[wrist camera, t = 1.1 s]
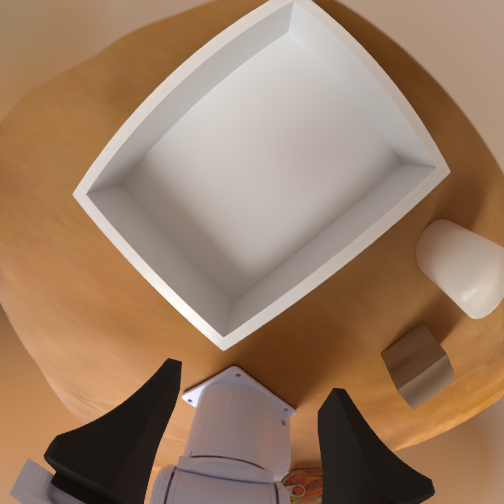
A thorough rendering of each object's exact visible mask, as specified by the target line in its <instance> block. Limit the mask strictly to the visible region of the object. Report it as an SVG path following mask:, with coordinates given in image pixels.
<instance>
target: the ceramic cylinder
mask: <svg viewBox="0 0 504 504" xmlns="http://www.w3.org/2000/svg"><path fill="white" fill-rule="evenodd" d="M416 262H417V265H418V267H419V269H420V270H421V272H422V273H423V274H425V275H426V276H427V277H428V278H429V279H430V280H431V281H432V282H434V283H435V284H436V285H437V286H438V287H439V288H440V289H441V290H442V291H443V292H444V293H446V294H447V295H448V296H449V297H450V298H451V299H452V300H453V301H454V302H455V303H456V304H457V305H458V306H459V307H460V308H461V309H462V310H463V311H464V312H465V313H466V314H467V315H468V316H469V317H471V318H473V319H480V318H483V317H485V316H487V315H488V314H490V313H491V312H492V311H493V310H494V309H495V308H496V307H497V306H498V305H499V303H500V302H501V300H502V299H503V297H504V248H503V247H501V246H499V245H497V244H496V243H494V242H492V241H490V240H488V239H486V238H484V237H482V236H480V235H478V234H476V233H474V232H472V231H470V230H468V229H466V228H464V227H462V226H460V225H458V224H455V223H453V222H451V221H449V220H446V219H440V220H436V221H434V222H432V223H431V224H429V225H428V226H427V227H426V228H425V230H424V231H423V232H422V234H421V236H420V238H419V240H418V243H417V247H416Z"/></svg>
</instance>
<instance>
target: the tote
mask: <svg viewBox="0 0 504 504" xmlns="http://www.w3.org/2000/svg"><path fill="white" fill-rule="evenodd" d="M449 173H450V170H449V168H448V166H447V164H446V162H445V160H444V158H443V156H442V154H441V153H440V151H439V149H438V147H437V146H436V144H435V142H434V140H433V139H432V137H431V135H430V134H429V132H428V131H427V129H426V127H425V126H424V124H423V123H422V121H421V120H420V118H419V117H418V115H417V114H416V112H415V111H414V109H413V108H412V106H411V105H410V104H409V102H408V101H407V99H406V98H405V97H404V95H403V94H402V93H401V91H400V90H399V89H398V87H397V86H396V85H395V84H394V82H393V81H392V80H391V79H390V77H389V76H388V75H387V74H386V72H385V71H384V70H383V69H382V68H381V67H380V65H379V64H378V63H377V62H376V61H375V60H374V59H373V57H372V56H371V55H370V54H369V53H368V52H367V51H366V50H365V49H364V48H363V47H362V46H361V45H360V44H359V43H358V42H357V41H356V40H355V39H354V38H353V37H352V36H351V35H350V34H349V33H348V32H347V31H346V30H345V29H344V28H343V27H342V26H341V25H340V24H339V23H338V22H336V21H335V20H334V19H333V18H332V17H331V16H330V15H328V14H327V13H326V12H325V11H324V10H323V9H321V8H320V7H319V6H318V5H316V4H315V3H314V2H313V1H311V0H270V1H268V2H266V3H265V4H263V5H261V6H260V7H258V8H256V9H255V10H253V11H252V12H250V13H248V14H247V15H245V16H244V17H242V18H241V19H239V20H238V21H236V22H235V23H234V24H232V25H231V26H229V27H228V28H226V29H225V30H224V31H222V32H221V33H220V34H218V35H217V36H216V37H214V38H213V39H212V40H210V41H209V42H208V43H207V44H205V45H204V46H203V47H202V48H200V49H199V50H198V51H197V52H196V53H194V54H193V55H192V56H191V57H190V58H188V59H187V60H186V61H185V62H184V63H183V64H182V65H180V66H179V67H178V68H177V69H176V70H175V71H174V72H173V73H172V74H171V75H170V76H169V77H167V78H166V79H165V80H164V81H163V82H162V83H161V84H160V85H159V86H158V87H157V88H156V89H155V90H154V91H153V92H152V93H151V94H150V95H149V96H148V98H147V99H146V100H145V101H144V102H143V103H142V104H141V105H140V106H139V107H138V108H137V109H136V111H135V112H134V113H133V114H132V115H131V116H130V117H129V118H128V120H127V121H126V122H125V123H124V124H123V125H122V127H121V128H120V129H119V130H118V132H117V133H116V134H115V135H114V136H113V138H112V139H111V140H110V142H109V143H108V144H107V145H106V147H105V148H104V149H103V151H102V152H101V153H100V155H99V156H98V157H97V159H96V160H95V162H94V163H93V164H92V166H91V167H90V169H89V170H88V172H87V173H86V175H85V176H84V178H83V179H82V181H81V182H80V184H79V185H78V187H77V188H76V190H75V191H74V193H73V196H74V197H75V199H76V200H77V201H78V202H79V204H80V205H81V206H82V207H83V209H84V210H85V211H86V212H87V214H88V215H89V216H90V217H91V218H92V220H93V221H94V222H95V223H96V224H97V226H98V227H99V228H100V229H101V230H102V232H103V233H104V234H105V235H106V236H107V237H108V238H109V240H110V241H111V242H112V243H113V244H114V245H115V246H116V247H117V249H118V250H119V251H120V252H121V253H122V254H123V255H124V256H125V257H126V258H127V260H128V261H129V262H130V263H131V264H132V265H133V266H134V267H135V268H136V269H137V270H138V271H139V272H140V273H141V274H142V275H143V277H144V278H145V279H146V280H147V281H148V282H149V283H150V284H151V285H152V286H153V287H154V288H155V289H156V290H157V291H158V292H159V293H160V294H161V295H162V296H163V297H164V298H165V299H166V300H167V301H168V302H169V303H171V304H172V305H173V306H174V307H175V308H176V309H177V310H178V311H179V312H180V313H181V314H182V315H183V316H184V317H185V318H186V319H187V320H189V321H190V322H191V323H192V324H193V325H194V326H195V327H196V328H197V329H198V330H200V331H201V332H202V333H203V334H204V335H205V336H206V337H207V338H209V339H210V340H211V341H212V342H213V343H214V344H216V345H217V346H218V347H219V348H220V349H221V350H223V351H225V350H226V349H228V348H230V347H231V346H233V345H234V344H236V343H237V342H239V341H240V340H242V339H243V338H245V337H246V336H248V335H249V334H251V333H252V332H254V331H255V330H257V329H258V328H260V327H261V326H263V325H264V324H266V323H267V322H268V321H270V320H271V319H273V318H274V317H276V316H277V315H278V314H280V313H281V312H283V311H284V310H286V309H287V308H288V307H290V306H291V305H293V304H294V303H295V302H297V301H298V300H299V299H301V298H302V297H304V296H305V295H306V294H308V293H309V292H310V291H312V290H313V289H314V288H316V287H317V286H318V285H320V284H321V283H322V282H324V281H325V280H326V279H328V278H329V277H330V276H331V275H333V274H334V273H335V272H337V271H338V270H339V269H340V268H342V267H343V266H344V265H346V264H347V263H348V262H349V261H351V260H352V259H353V258H354V257H356V256H357V255H358V254H359V253H361V252H362V251H363V250H364V249H365V248H367V247H368V246H369V245H370V244H372V243H373V242H374V241H375V240H376V239H378V238H379V237H380V236H381V235H382V234H383V233H385V232H386V231H387V230H388V229H389V228H391V227H392V226H393V225H394V224H395V223H396V222H397V221H399V220H400V219H401V218H402V217H403V216H404V215H405V214H407V213H408V212H409V211H410V210H411V209H412V208H413V207H414V206H415V205H417V204H418V203H419V202H420V201H421V200H422V199H423V198H424V197H425V196H426V195H427V194H429V193H430V192H431V191H432V190H433V189H434V188H435V187H436V186H437V185H438V184H439V183H440V182H441V181H442V180H443V179H444V178H445V177H446V176H447V175H448V174H449Z"/></svg>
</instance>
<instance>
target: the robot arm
mask: <svg viewBox="0 0 504 504" xmlns="http://www.w3.org/2000/svg"><path fill="white" fill-rule="evenodd" d="M181 366H182V362H181V361H177V360H174V359H170V358H168V359H167V360H166V361H165V362H164V363H163V365H162V366H161V367H160V368H159V369H158V371H157V372H156V373H155V374H154V375H153V376H152V377H151V378H150V379H149V380H148V381H147V382H146V383H145V384H144V385H143V386H142V387H141V388H140V389H139V390H137V391H136V392H135V393H134V394H133V395H132V396H130V397H129V398H128V399H127V400H126V401H124V402H123V403H122V404H120V405H119V406H117V407H116V408H115V409H113V410H112V411H110V412H108V413H107V414H105V415H103V416H102V417H100V418H98V419H96V420H94V421H92V422H90V423H88V424H86V425H84V426H82V427H80V428H77V429H75V430H72V431H69V432H66V433H63V434H60V435H57V436H56V437H55V439H54V440H53V441H52V442H51V444H50V445H49V447H48V449H47V451H46V452H45V454H44V459H45V460H46V461H47V463H48V464H50V466H51V467H52V468H53V469H54V470H55V471H56V473H55V475H53V474H51V473H50V472H49V471H47V470H46V469H44V468H43V467H41V466H39V465H38V464H37V463H35V462H34V461H32V460H31V459H27V461H26V463H25V465H24V467H23V468H22V471H21V472H20V474H19V476H18V478H17V480H16V482H15V484H14V486H13V488H12V490H11V492H10V495H11V496H12V497H14V498H15V499H16V500H17V501H19V502H20V503H21V504H144V499H145V495H146V490H147V486H148V482H149V478H150V474H151V470H152V466H153V463H154V459H155V456H156V452H157V449H158V446H159V443H160V441H161V438H162V436H163V433H164V431H165V429H166V426H167V424H168V422H169V419H170V417H171V415H172V412H173V410H174V407H175V404H176V401H177V398H178V394H179V391H180V382H181ZM182 398H183V399H184V400H185V401H186V402H188V403H189V404H191V405H192V406H194V407H195V408H196V410H195V413H194V417H193V421H192V425H191V428H190V432H189V436H188V440H187V443H186V447H185V451H184V455H183V456H180V457H179V461H178V465H177V466H176V465H173V464H168V465H167V466H166V467H164V468H162V469H161V470H160V471H159V473H158V475H157V478H156V480H155V483H154V486H153V490H152V494H151V498H150V504H291V501H290V495H289V492H288V490H287V489H286V488H285V487H284V485H283V484H282V483H281V482H280V481H281V480H282V479H283V478H284V476H285V475H286V473H287V471H288V469H289V467H290V463H291V439H290V417H291V416H294V415H295V414H296V410H295V409H294V408H292V407H291V406H290V405H288V404H287V403H285V402H284V401H282V400H281V399H280V398H278V397H277V396H276V395H274V394H273V393H271V392H270V391H269V390H267V389H266V388H265V387H263V386H262V385H261V384H259V383H258V382H257V381H256V380H254V379H253V378H252V377H250V376H249V375H248V374H247V373H245V372H244V371H243V370H241V369H240V368H239V367H237V366H232V367H230V368H228V369H227V370H225V371H223V372H221V373H220V374H218V375H216V376H214V377H213V378H211V379H209V380H207V381H205V382H204V383H202V384H200V385H198V386H196V387H194V388H192V389H191V390H189V391H187V392H185V393H183V394H182ZM318 436H319V443H320V451H321V459H322V468H323V488H322V502H321V504H420V503H422V502H423V501H425V500H427V499H429V498H430V497H431V496H433V495H434V493H435V490H434V487H433V483H432V480H431V479H429V478H427V477H426V476H424V475H422V474H420V473H418V472H417V471H415V470H414V469H412V468H411V467H409V466H408V465H407V464H405V463H404V462H403V461H402V460H400V459H399V458H398V457H397V456H396V455H395V454H394V453H393V452H391V451H390V450H389V449H388V447H387V446H386V445H385V444H384V443H383V442H382V441H381V440H380V439H379V438H378V436H377V435H376V434H375V433H374V431H373V430H372V429H371V428H370V426H369V425H368V423H367V422H366V421H365V419H364V418H363V416H362V415H361V413H360V412H359V410H358V409H357V407H356V406H355V404H354V403H353V401H352V400H351V398H350V396H349V395H348V393H347V392H346V390H345V389H339V388H333V389H332V391H331V393H330V394H329V396H328V397H327V399H326V400H325V402H324V403H323V405H322V406H321V408H320V409H319V411H318Z"/></svg>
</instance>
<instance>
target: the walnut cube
mask: <svg viewBox="0 0 504 504" xmlns="http://www.w3.org/2000/svg"><path fill="white" fill-rule="evenodd" d="M381 356H382V358H383V360H384V362H385V365H386V367H387V369H388V371H389V373H390V375H391V378H392V380H393V382H394V384H395V386H396V389H397V391H398V392H399V393H400V394H401V395H402V397H403V398H404V399H405V400H406V401H407V403H408V404H409V405H410V406H411V408H412V409H413V410H414V409H416V408H417V407H419V406H420V405H422V404H423V403H425V402H426V401H428V400H429V399H431V398H432V397H433V396H435V395H436V394H438V393H439V392H440V391H442V390H443V389H444V388H446V387H447V386H448V385H450V384H451V383H452V382H453V381H455V380H456V376H455V374H454V371H453V368H452V366H451V363H450V361H449V358H448V356H447V354H446V352H445V351H444V350H443V348H442V347H441V345H440V344H439V343H438V341H437V340H436V339H435V337H434V336H433V335H432V333H431V332H430V331H429V329H428V328H427V327H426V326H425V324H424V323H423V322H422V323H420V324H419V325H418V326H417V327H416V328H414V329H413V330H412V331H410V332H409V333H408V334H407V335H405V336H404V337H403V338H401V339H400V340H399V341H397V342H396V343H395V344H393V345H392V346H390V347H389V348H388V349H386V350H385V351H383V352H382V353H381Z"/></svg>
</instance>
